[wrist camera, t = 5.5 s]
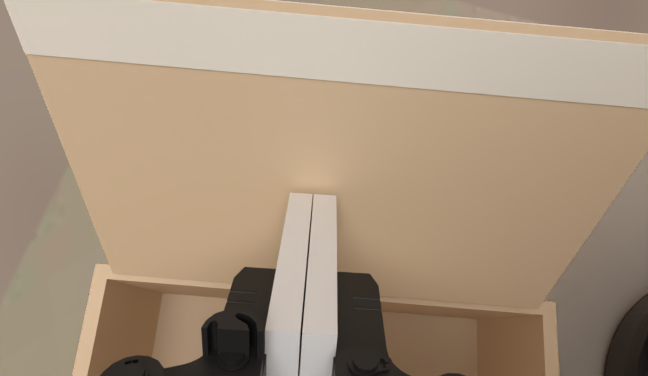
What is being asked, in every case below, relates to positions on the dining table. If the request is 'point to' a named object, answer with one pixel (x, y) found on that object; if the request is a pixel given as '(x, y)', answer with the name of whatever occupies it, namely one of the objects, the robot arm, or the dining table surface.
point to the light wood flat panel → (340, 136)
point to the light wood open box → (401, 341)
